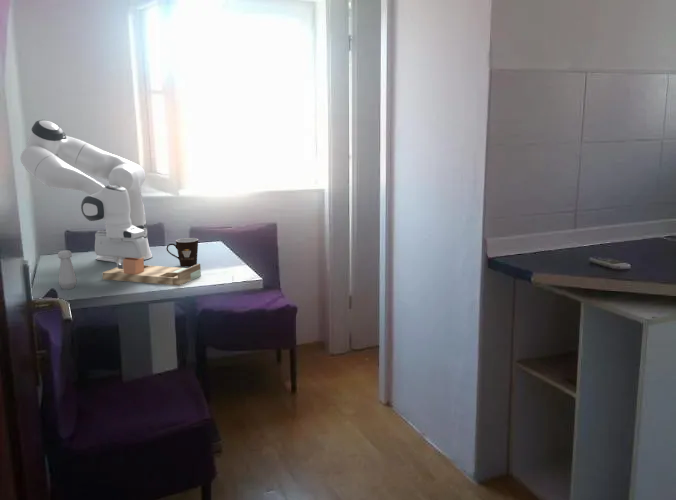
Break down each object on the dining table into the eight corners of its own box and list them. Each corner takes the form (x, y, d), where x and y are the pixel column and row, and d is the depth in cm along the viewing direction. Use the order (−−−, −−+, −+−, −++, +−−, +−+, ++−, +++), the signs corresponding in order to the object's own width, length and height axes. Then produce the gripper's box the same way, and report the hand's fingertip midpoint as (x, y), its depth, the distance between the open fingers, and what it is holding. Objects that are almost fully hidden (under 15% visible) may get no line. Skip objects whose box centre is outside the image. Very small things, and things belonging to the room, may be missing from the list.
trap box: (102, 279, 229) (101, 267, 228) (126, 270, 242) (125, 258, 241) (180, 285, 220) (179, 272, 219) (200, 275, 233) (200, 263, 232)
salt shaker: (62, 285, 221) (58, 249, 218) (79, 285, 222) (75, 248, 219) (56, 290, 215) (52, 252, 213) (74, 289, 216) (70, 252, 213)
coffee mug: (203, 263, 252) (202, 238, 250) (192, 268, 244) (190, 242, 242) (178, 261, 256) (177, 237, 254) (166, 266, 248) (164, 241, 246)
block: (123, 272, 227) (123, 259, 226) (132, 269, 232) (131, 256, 230) (135, 274, 225) (134, 260, 224) (144, 271, 230) (143, 257, 229)
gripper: (89, 231, 227) (92, 268, 230) (137, 234, 221) (140, 272, 224) (100, 228, 233) (103, 264, 236) (148, 231, 227) (150, 268, 229)
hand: (122, 268), depth 230 cm, fingers closed
